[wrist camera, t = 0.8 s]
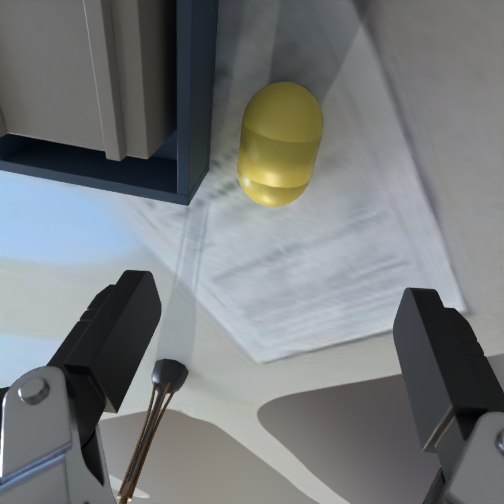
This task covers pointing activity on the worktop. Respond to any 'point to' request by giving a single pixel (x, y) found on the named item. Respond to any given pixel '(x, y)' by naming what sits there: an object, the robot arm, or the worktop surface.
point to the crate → (168, 154)
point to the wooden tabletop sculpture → (152, 419)
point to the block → (90, 73)
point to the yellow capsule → (279, 143)
